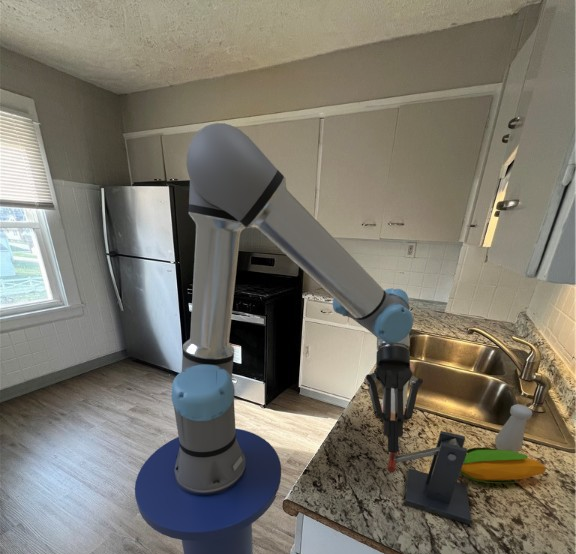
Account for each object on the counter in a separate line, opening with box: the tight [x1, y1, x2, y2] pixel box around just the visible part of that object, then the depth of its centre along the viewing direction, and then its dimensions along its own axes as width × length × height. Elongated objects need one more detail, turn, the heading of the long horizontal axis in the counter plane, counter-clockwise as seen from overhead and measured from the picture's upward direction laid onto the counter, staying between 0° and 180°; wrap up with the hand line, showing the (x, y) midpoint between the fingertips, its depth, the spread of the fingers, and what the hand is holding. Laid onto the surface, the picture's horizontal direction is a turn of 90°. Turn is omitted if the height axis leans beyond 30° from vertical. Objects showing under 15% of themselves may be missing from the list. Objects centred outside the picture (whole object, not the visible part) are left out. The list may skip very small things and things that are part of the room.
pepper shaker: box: [380, 361, 415, 421], centre depth 89 cm, size 7×7×19 cm
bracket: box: [404, 430, 472, 526], centre depth 64 cm, size 12×10×15 cm
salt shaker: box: [494, 403, 533, 453], centre depth 78 cm, size 6×6×13 cm
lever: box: [386, 438, 460, 473], centre depth 64 cm, size 14×6×2 cm
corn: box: [460, 446, 547, 484], centre depth 71 cm, size 7×8×20 cm
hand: (393, 451), depth 67 cm, fingers closed
